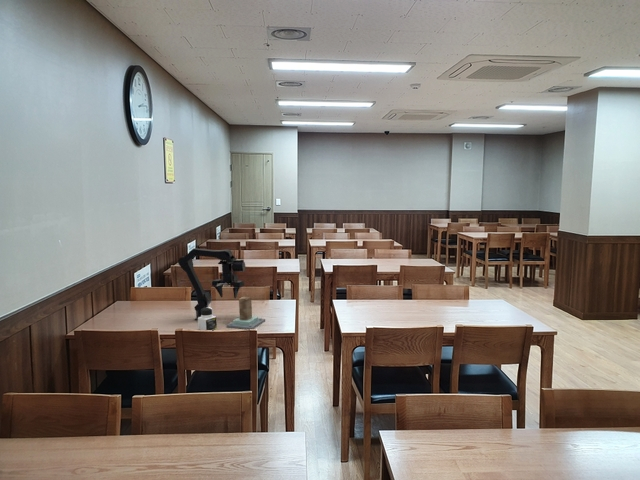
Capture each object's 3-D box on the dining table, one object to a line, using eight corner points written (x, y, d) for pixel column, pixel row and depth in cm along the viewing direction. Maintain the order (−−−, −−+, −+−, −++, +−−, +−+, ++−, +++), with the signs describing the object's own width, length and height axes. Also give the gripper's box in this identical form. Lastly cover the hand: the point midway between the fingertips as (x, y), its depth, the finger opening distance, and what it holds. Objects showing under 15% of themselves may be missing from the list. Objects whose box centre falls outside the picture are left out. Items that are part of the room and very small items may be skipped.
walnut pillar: (239, 319, 247) (238, 298, 245) (244, 316, 251) (243, 296, 250) (247, 320, 245) (246, 299, 243) (252, 317, 250) (251, 297, 248)
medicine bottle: (206, 332, 236) (205, 310, 235) (198, 329, 241) (197, 308, 239) (217, 328, 242) (216, 307, 240) (208, 326, 246) (207, 305, 245)
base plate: (226, 327, 244) (226, 321, 244) (241, 318, 259) (240, 313, 258) (251, 330, 238) (251, 324, 238) (265, 321, 253) (265, 315, 253)
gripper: (248, 269, 259) (249, 295, 261) (221, 268, 265) (222, 293, 267) (238, 273, 248) (239, 300, 250) (210, 271, 255) (211, 297, 257)
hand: (228, 297), depth 256 cm, fingers open, 9 cm apart
